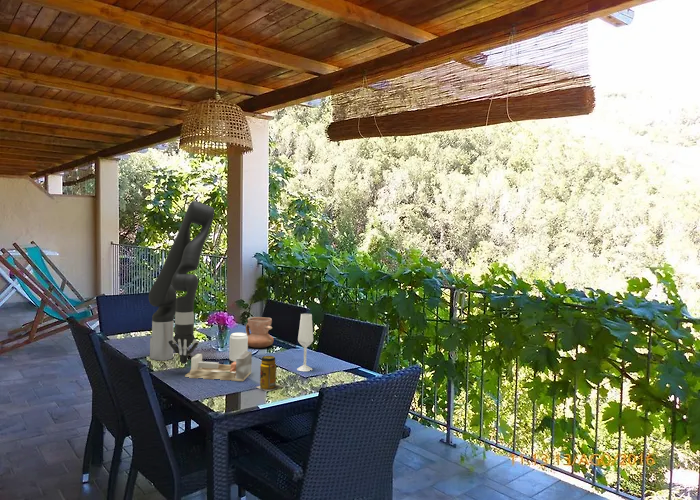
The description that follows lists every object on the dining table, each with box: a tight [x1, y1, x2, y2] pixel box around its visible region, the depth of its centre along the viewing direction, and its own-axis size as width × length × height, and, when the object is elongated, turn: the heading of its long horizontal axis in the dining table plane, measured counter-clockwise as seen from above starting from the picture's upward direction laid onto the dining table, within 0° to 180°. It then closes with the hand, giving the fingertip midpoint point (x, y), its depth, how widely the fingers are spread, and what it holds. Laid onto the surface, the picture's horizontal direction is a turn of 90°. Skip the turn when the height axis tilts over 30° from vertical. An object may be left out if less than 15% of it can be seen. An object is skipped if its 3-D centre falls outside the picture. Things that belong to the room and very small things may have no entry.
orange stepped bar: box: [230, 361, 236, 372], centre depth 223 cm, size 2×8×3 cm, turn 175°
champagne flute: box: [296, 313, 314, 372], centre depth 237 cm, size 7×7×24 cm
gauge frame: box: [184, 351, 253, 382], centre depth 225 cm, size 24×12×9 cm, turn 85°
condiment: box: [256, 355, 284, 392], centre depth 212 cm, size 7×8×12 cm
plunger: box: [190, 353, 220, 370], centre depth 225 cm, size 10×7×6 cm
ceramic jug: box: [245, 316, 275, 349], centre depth 276 cm, size 18×14×14 cm
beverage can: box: [228, 332, 249, 363], centre depth 249 cm, size 8×8×12 cm
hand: (183, 363), depth 226 cm, fingers closed
